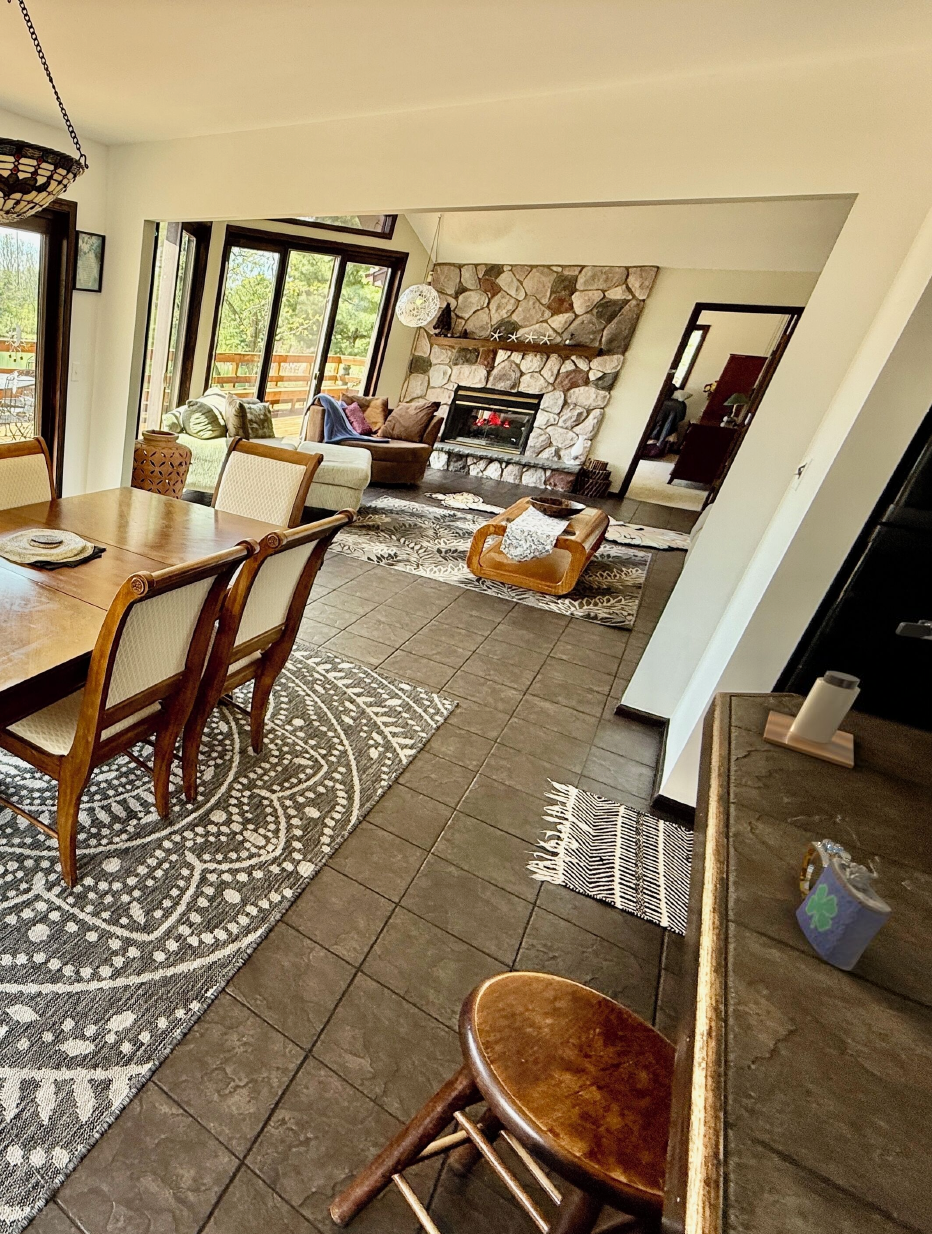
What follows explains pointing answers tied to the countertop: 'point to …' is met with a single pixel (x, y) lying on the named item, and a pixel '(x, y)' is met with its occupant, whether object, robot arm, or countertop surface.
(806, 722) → the salt mill
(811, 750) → the wooden board
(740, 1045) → the countertop surface
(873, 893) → the flask
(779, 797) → the countertop surface
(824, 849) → the ring
